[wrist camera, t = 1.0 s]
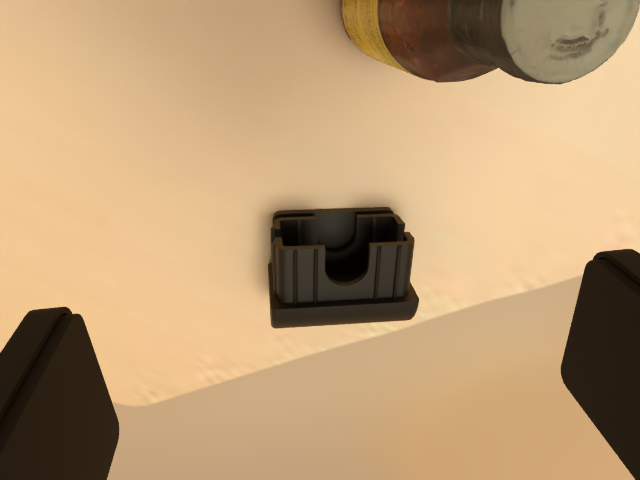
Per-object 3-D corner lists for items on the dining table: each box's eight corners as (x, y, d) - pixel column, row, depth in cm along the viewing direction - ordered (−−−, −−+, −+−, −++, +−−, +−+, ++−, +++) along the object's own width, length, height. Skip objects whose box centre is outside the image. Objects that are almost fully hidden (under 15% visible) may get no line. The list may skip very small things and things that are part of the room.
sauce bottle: (408, 71, 33) (586, 174, 15) (321, 35, 31) (411, 102, 14) (455, -33, 30) (732, -52, 13) (363, -79, 29) (539, -174, 11)
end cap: (269, 292, 40) (272, 347, 34) (266, 210, 36) (269, 255, 30) (391, 285, 41) (415, 337, 35) (399, 206, 38) (427, 248, 32)
